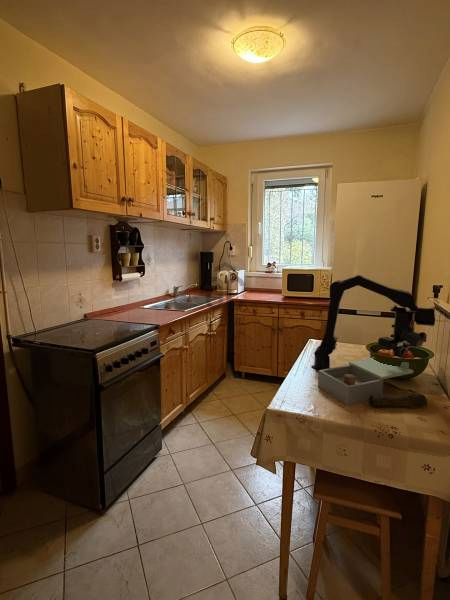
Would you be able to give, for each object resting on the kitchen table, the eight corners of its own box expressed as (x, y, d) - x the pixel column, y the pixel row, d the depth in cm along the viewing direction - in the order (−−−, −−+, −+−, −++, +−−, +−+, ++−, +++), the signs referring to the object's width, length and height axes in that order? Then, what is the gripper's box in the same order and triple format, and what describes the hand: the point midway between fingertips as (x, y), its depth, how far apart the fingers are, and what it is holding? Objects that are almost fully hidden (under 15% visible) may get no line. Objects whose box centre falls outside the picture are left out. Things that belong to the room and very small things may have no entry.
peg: (340, 389, 121) (341, 375, 120) (348, 388, 122) (349, 373, 121) (348, 394, 117) (349, 379, 116) (356, 392, 119) (358, 377, 118)
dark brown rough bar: (372, 409, 107) (373, 396, 106) (368, 403, 111) (369, 391, 110) (430, 411, 106) (432, 398, 105) (424, 405, 110) (426, 393, 109)
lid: (348, 364, 129) (349, 356, 128) (378, 358, 134) (379, 351, 134) (381, 379, 114) (382, 371, 113) (413, 372, 120) (413, 364, 119)
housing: (317, 386, 124) (318, 370, 123) (349, 379, 130) (350, 364, 129) (347, 404, 110) (348, 387, 108) (381, 396, 115) (383, 379, 114)
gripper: (403, 330, 114) (399, 371, 117) (438, 325, 121) (434, 364, 124) (378, 323, 124) (375, 361, 127) (412, 319, 131) (408, 355, 134)
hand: (398, 360), depth 128 cm, fingers closed
